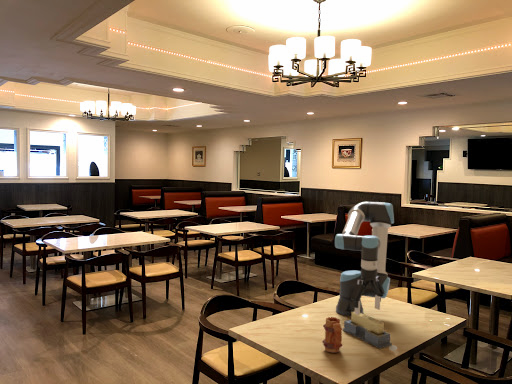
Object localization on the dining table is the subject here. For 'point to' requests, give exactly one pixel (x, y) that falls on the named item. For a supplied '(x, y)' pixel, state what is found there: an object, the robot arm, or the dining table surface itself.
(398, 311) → the dining table surface
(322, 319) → the dining table surface
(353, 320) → the tan wooden block
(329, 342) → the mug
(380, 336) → the grey double socket base
